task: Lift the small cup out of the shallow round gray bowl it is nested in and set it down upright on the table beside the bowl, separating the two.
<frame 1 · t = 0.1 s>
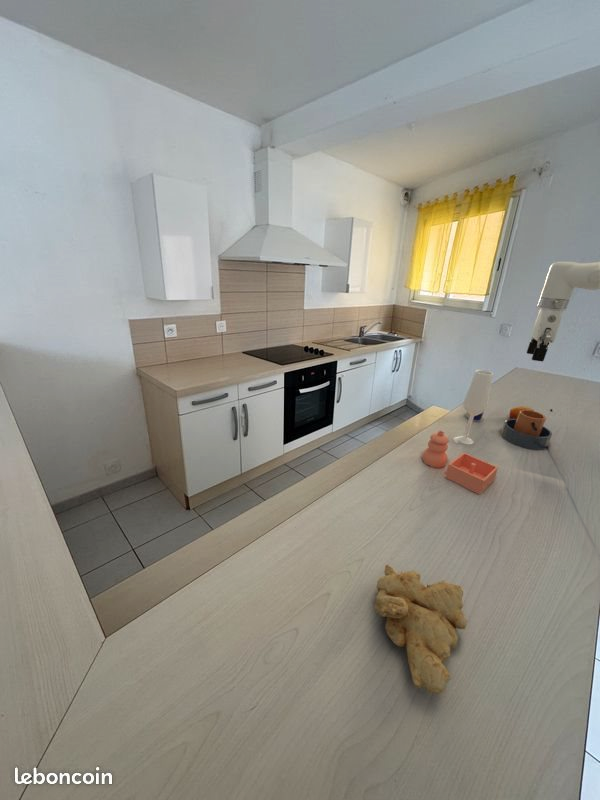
hand: (534, 357, 108), 26 cm above the worktop, tool pointing down, fingers open, 9 cm apart
cup: (523, 439, 108), point 1 cm above the worktop, touching shallow round gray bowl
energy drink: (472, 420, 121), on the worktop
pottery: (453, 471, 90), on the worktop
shallow round gray bowl: (522, 440, 108), on the worktop
ginger root: (411, 625, 51), on the worktop
champagne flute: (464, 442, 106), on the worktop
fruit: (519, 424, 120), on the worktop
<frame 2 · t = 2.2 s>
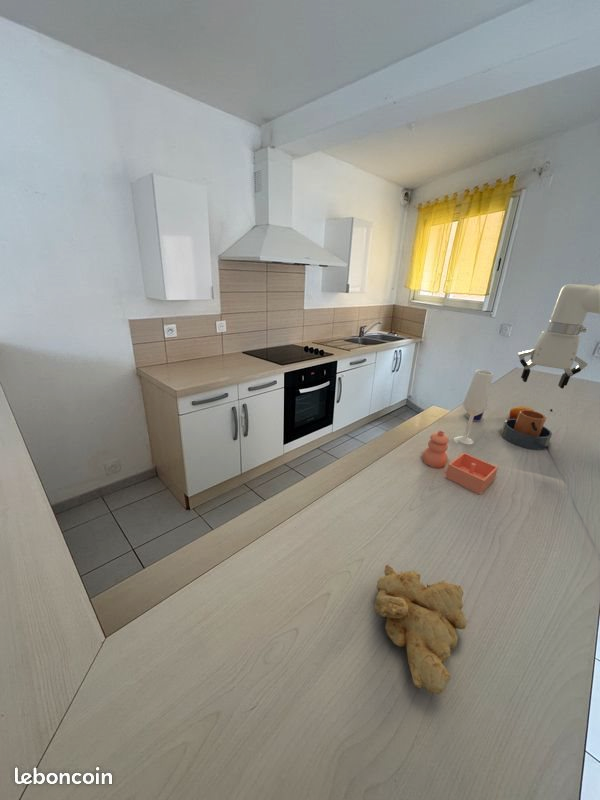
hand: (542, 383, 101), 20 cm above the worktop, tool pointing down, fingers open, 9 cm apart
nothing on the worktop moved.
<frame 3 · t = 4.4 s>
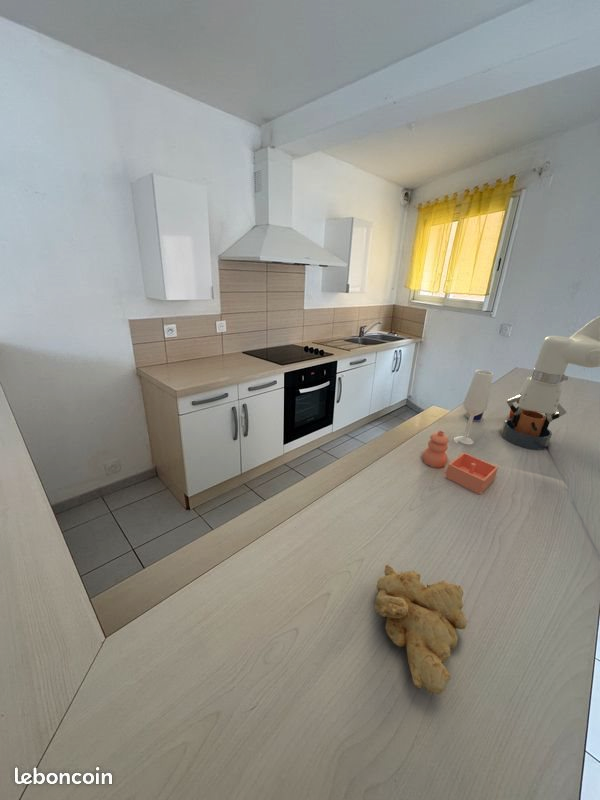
hand: (527, 427, 106), 5 cm above the worktop, tool pointing down, fingers closed on cup, 7 cm apart
cup: (523, 439, 108), point 1 cm above the worktop, touching gripper, shallow round gray bowl
everything else where it was.
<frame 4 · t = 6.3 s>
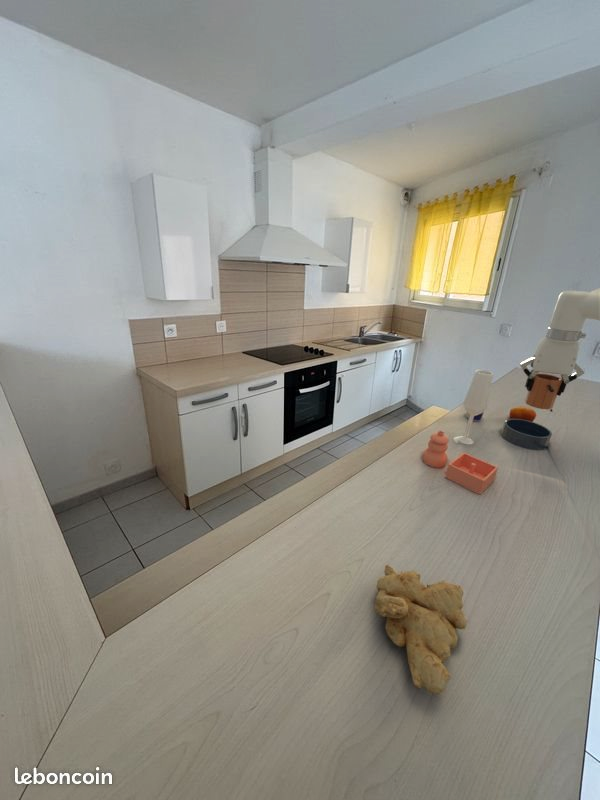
hand: (542, 391, 101), 18 cm above the worktop, tool pointing down, fingers closed on cup, 7 cm apart
cup: (538, 404, 103), point 13 cm above the worktop, touching gripper
everything else where it was.
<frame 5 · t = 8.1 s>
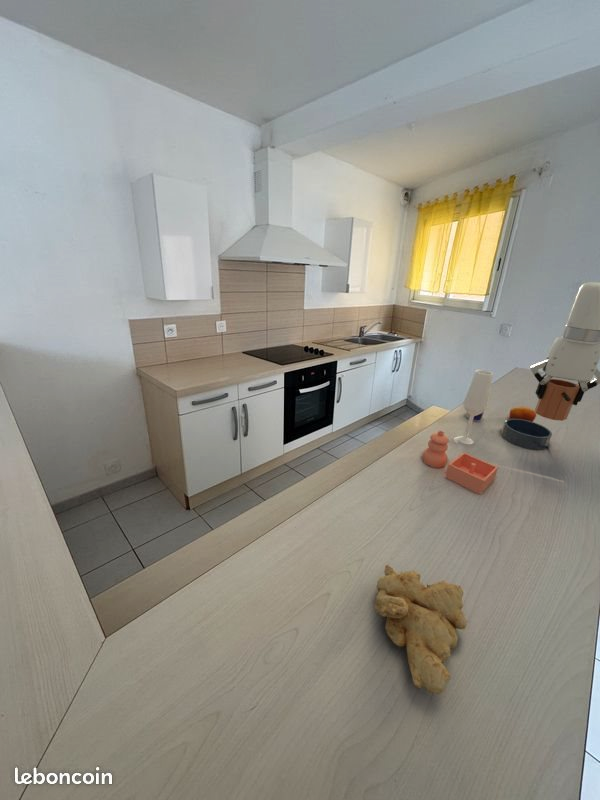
hand: (556, 399, 87), 21 cm above the worktop, tool pointing down, fingers closed on cup, 7 cm apart
cup: (550, 414, 89), point 16 cm above the worktop, touching gripper
everything else where it was.
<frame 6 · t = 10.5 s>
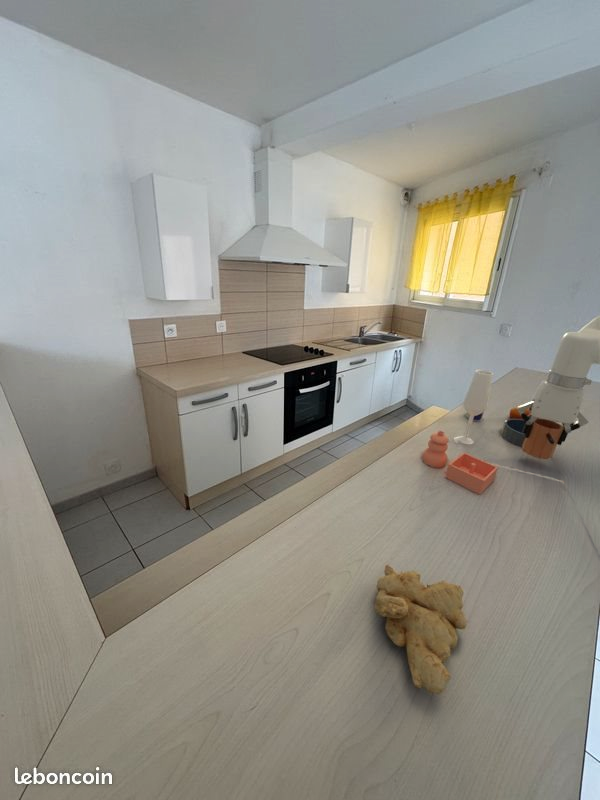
hand: (541, 438, 91), 9 cm above the worktop, tool pointing down, fingers closed on cup, 7 cm apart
cup: (536, 452, 93), point 4 cm above the worktop, touching gripper
everything else where it was.
when the fingers open (5 cm above the worktop, at t = 12.2 s): cup stays where it is, on the worktop.
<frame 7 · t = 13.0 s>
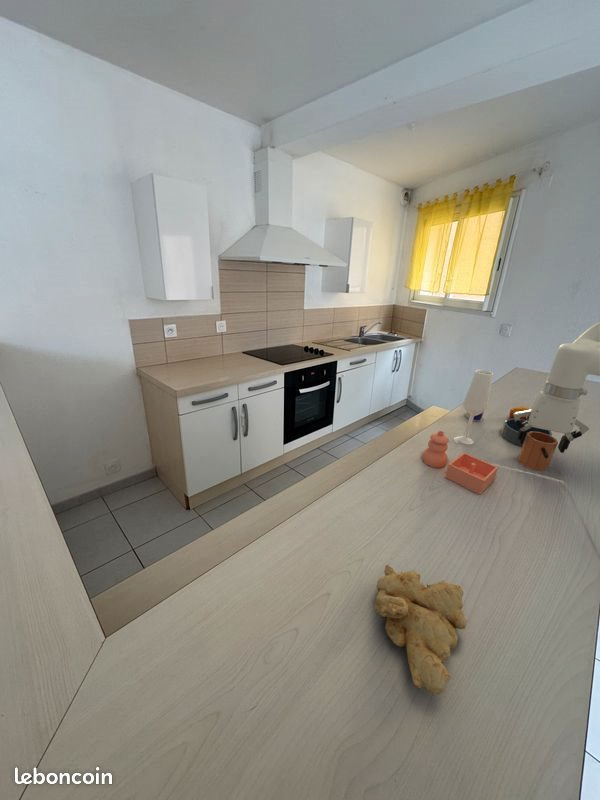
hand: (540, 446, 92), 6 cm above the worktop, tool pointing down, fingers open, 9 cm apart
cup: (531, 465, 95), on the worktop
everything else where it was.
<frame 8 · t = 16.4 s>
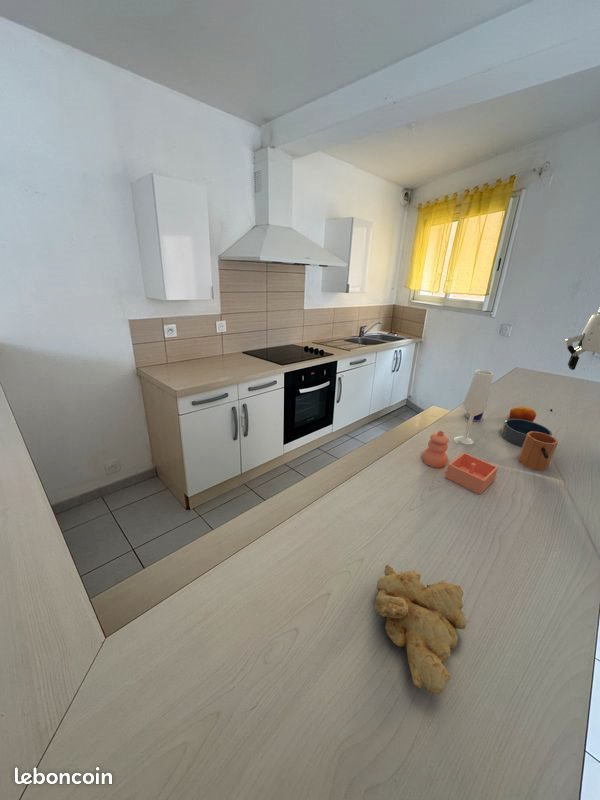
hand: (591, 371, 94), 26 cm above the worktop, tool pointing down, fingers open, 9 cm apart
nothing on the worktop moved.
at the end: cup inside the target area (0.0 cm from its centre), on the worktop; cup touching worktop; cup tilted 0° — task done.
